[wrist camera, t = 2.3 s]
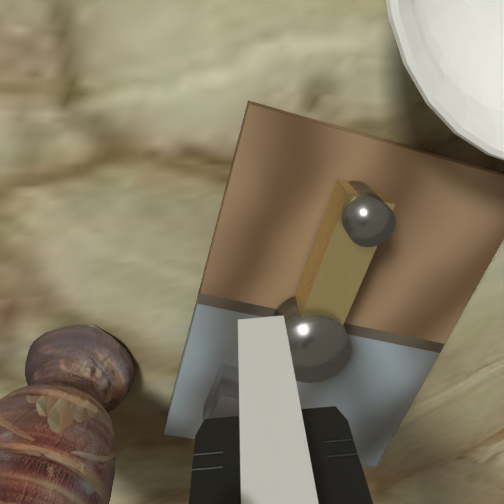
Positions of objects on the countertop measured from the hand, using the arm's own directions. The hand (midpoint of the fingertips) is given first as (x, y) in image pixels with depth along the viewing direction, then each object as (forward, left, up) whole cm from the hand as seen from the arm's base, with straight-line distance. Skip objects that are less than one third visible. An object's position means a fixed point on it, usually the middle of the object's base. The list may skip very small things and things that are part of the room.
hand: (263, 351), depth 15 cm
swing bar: (+5, -2, -12) cm, 13 cm away
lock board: (+7, -6, -14) cm, 16 cm away
